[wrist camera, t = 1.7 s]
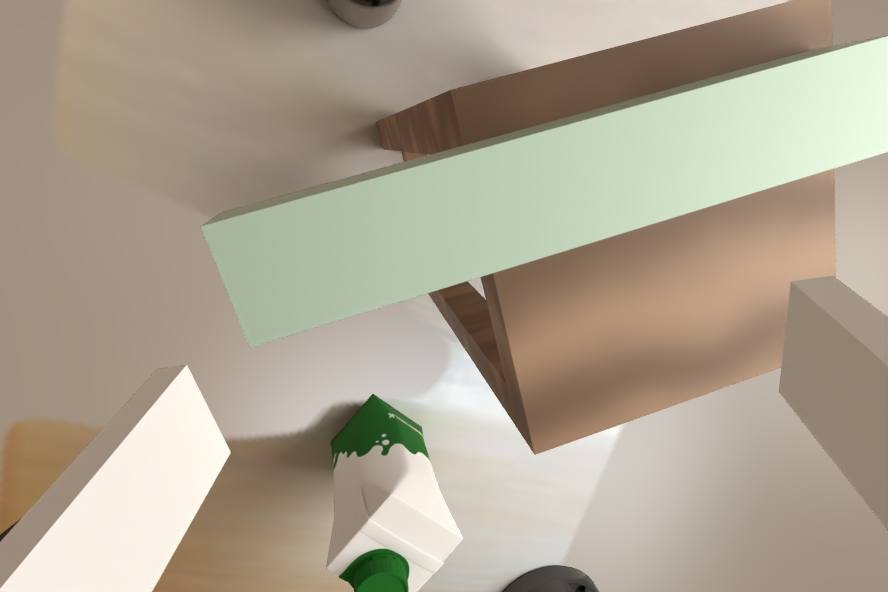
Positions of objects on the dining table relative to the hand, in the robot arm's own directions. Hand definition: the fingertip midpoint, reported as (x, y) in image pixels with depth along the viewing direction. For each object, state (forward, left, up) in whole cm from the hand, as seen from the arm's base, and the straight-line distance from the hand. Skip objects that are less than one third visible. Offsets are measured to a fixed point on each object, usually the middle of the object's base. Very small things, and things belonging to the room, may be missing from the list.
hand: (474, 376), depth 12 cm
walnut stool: (-2, -11, -42) cm, 43 cm away
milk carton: (-25, +6, -42) cm, 49 cm away
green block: (+2, -6, -10) cm, 12 cm away
